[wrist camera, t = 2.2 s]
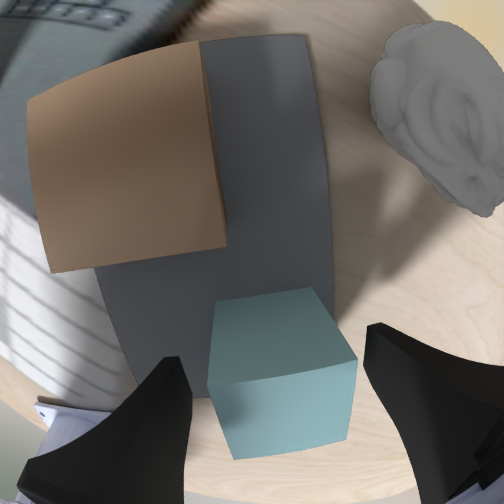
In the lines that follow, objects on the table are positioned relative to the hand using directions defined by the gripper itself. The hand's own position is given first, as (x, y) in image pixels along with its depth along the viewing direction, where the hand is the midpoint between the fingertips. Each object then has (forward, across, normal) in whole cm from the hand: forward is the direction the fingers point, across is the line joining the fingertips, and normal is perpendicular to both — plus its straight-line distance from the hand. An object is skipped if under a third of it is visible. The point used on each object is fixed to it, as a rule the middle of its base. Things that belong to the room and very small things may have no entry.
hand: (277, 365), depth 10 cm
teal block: (+2, 0, 0) cm, 2 cm away
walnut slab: (+2, +4, -8) cm, 9 cm away
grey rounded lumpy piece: (+3, -7, -9) cm, 12 cm away
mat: (+3, +2, -4) cm, 6 cm away
